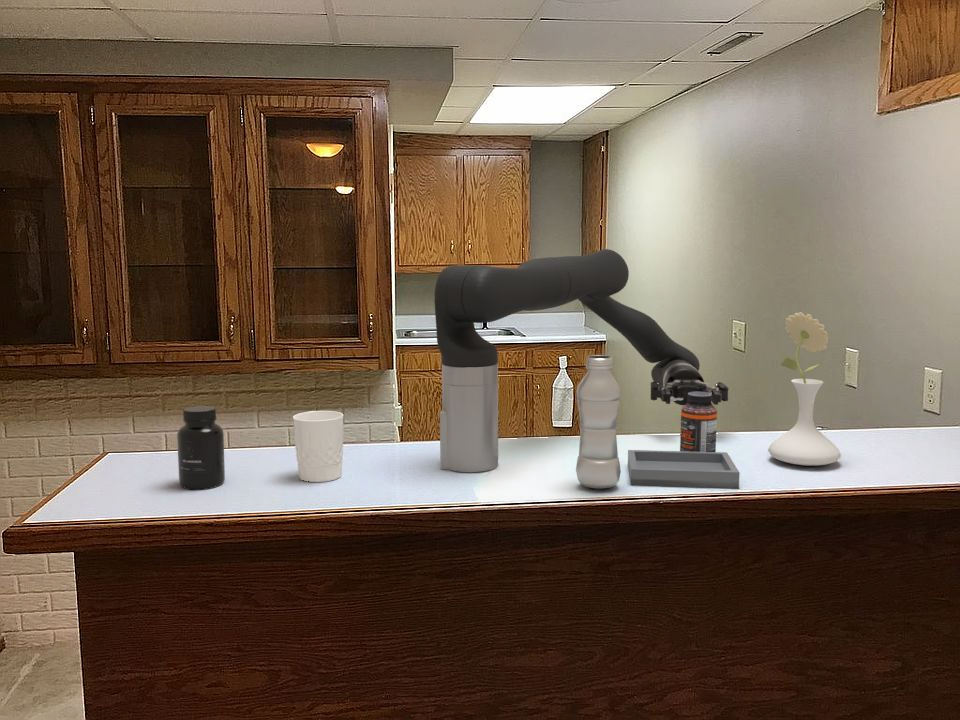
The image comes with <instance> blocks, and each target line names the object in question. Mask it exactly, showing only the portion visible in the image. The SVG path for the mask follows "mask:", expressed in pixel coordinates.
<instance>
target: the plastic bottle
mask: <svg viewBox="0 0 960 720" xmlns="http://www.w3.org/2000/svg"><path fill="white" fill-rule="evenodd" d="M612 361H613V357H612V356H611V355H603V354H591V355H587V356H586V364H585V369H586V370H587V372H586V374H585V375H584V376H583V378H582V379H580V382H579V384H578V385H577V388H576V398H577V399H576V401H577V408H578V415H579V417H578V418H579V427H580V428H579V433H580V435H579V436H580V437H579V447H578V456H577V460H576V466H575V467H576V468H575V472H576V473H575V474H576V479H577V481H578V482H579V484H580V485H581V486H583V487H586V488H591V489H610V488H613V487H615V486H616V485H617V484H618V482H620V477H621V472H622V471H621V464H620V459H619V456H618V455H619V452H618V441H617V439H618V438H617V427H618V414H619V410H620V409H619V408H620V402H621V400H620V399H621V396H622V395H621V394H622V393H621V389H620V386H619V384H618V382H617V381H616V378H614V375H612V373H611V370H613V362H612Z"/></svg>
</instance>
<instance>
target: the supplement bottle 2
mask: <svg viewBox="0 0 960 720" xmlns="http://www.w3.org/2000/svg"><path fill="white" fill-rule="evenodd" d="M687 400H688V402H687V403H686V405H682V406H681V411H680V437H679V438H680V439H679V440H680V441H679V443H680V444H679V451H689V452H717V451H716V450H717V449H716V447H717V424H718V423H717V422H718V418H717V417H718V410H717V408H716V406H715V405H714V404H713V403H712V393H711V394H710V393H707V392H689V393H688V398H687Z"/></svg>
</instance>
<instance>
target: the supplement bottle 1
mask: <svg viewBox="0 0 960 720" xmlns="http://www.w3.org/2000/svg"><path fill="white" fill-rule="evenodd" d="M182 415H183V416H182V421H183V422H184V424H183V425H182V426H181V427H180V428H179V429H178V430H177V434H176V438H177V439H176V440H177V441H176V442H177V443H176V444H177V460H178V461H177V466H178V482H179V485H180V486H181V488H183V487H185V488H184V489H186V488H190V489H189V490H194V489H199V490H205V489H204V488H209V489H211V488H210V487H214V488H216V487H215V486H217V487H219V486H221V485H223V484H224V482H225V480H226V474H225V473H226V471H225V467H226V466H225V443H224V442H225V439H224V429H223V428H222V426H221V425H220V424H218V423H216V420H217V408H216V407H215V406H210V405H198V406H197V405H196V406H189V407H186V408H184V409H182ZM220 484H221V485H220ZM218 485H219V486H218Z"/></svg>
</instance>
